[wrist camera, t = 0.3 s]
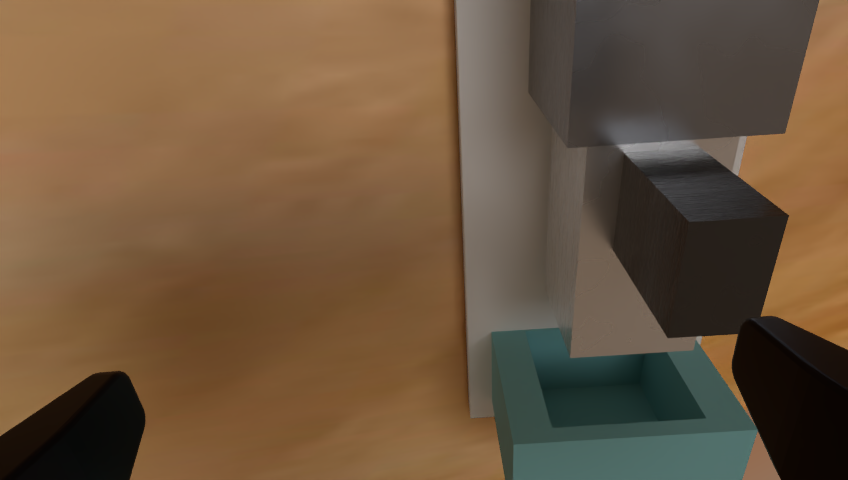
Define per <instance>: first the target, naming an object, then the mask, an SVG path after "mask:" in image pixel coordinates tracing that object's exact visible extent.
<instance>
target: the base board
mask: <svg viewBox="0 0 848 480" xmlns="http://www.w3.org/2000/svg"><path fill="white" fill-rule="evenodd" d="M530 4H531V0H454V10H455V37H456V65H457V93H458V120H459V148H460V175H461V203H462V230H463V258H464V285H465V313H466V340H467V368H468V395H469V409H470V417H471V418H483V417H495V416H494V410H493V404H492V341H491V332H496V331H512V330H528V329H543V328H559V327H558V324H557V321H556V318H555V316H554V313H553V310H552V307H551V305H550V302H549V299H548V297H547V294H546V291H545V272H546V251H547V230H548V209H549V188H550V167H551V146H552V126H551V124H550V123H549V121H548V120H547V119H546V117H545V116H544V114H543V113H542V111H541V110H540V109H539V107H538V106H537V104H536V103H535V101H534V100H533V99H532V97H531V96H530V94H529V93H528V83H529V44H530ZM746 138H747V136H740V139H739V143H738V148H737V152H736V157H735V162H734V166H733V171H732V172H733V173H734V174H735V175H737V176H738V174H739V169H740V165H741V160H742V156H743V151H744V147H745V142H746ZM701 339H702V336H697V337H696V340H697V342H698V343H699V345H700V343H701Z"/></svg>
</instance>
